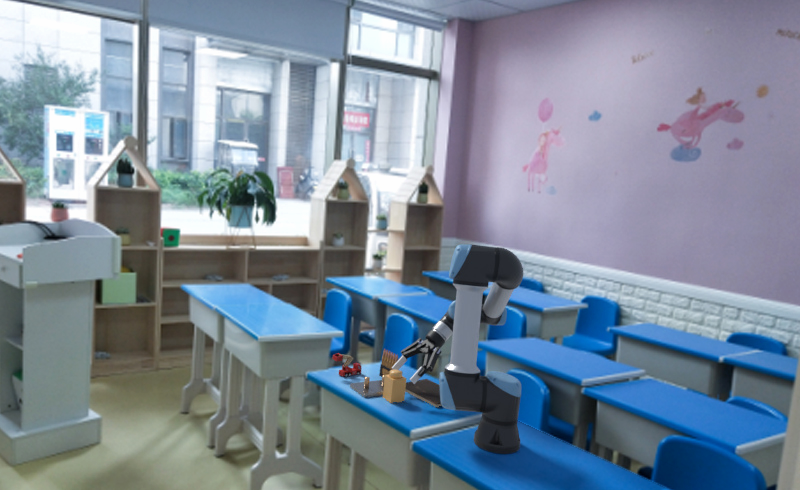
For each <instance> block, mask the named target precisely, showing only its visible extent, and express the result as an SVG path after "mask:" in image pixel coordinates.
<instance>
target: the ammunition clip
mask: <svg viewBox="0 0 800 490" xmlns="http://www.w3.org/2000/svg"><path fill="white" fill-rule="evenodd" d="M398 359H399V354H396V353H394V352H393V351H391V350H388V349H386V348H383V352H382V357H381V363H380V367H379V377H381V378H382V375H389V374H390V370H393V369H392V367H393V366H394V364H395V363H396V362H397V361H398Z"/></svg>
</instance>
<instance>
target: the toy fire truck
mask: <svg viewBox="0 0 800 490" xmlns="http://www.w3.org/2000/svg"><path fill="white" fill-rule="evenodd" d="M331 358H332V360H334V361H335V362H342V361H343V358H344V359H346V360H345V362H344V364H342V367H341V369H339V370H338V375H339V376H341V377H345V378H347V377H351V376H353V375H354V376H355V375H357V376H359V375H360V374H362V368H363V367H362V365H361V364H360V363H359V362H354V363H352V361H353V360H354V358H355V357H353V356H351V355H348V354H341V353H339V352H338V353H335V354H333V355H332V357H331ZM351 363H352V364H353V367H350V364H351Z"/></svg>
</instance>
